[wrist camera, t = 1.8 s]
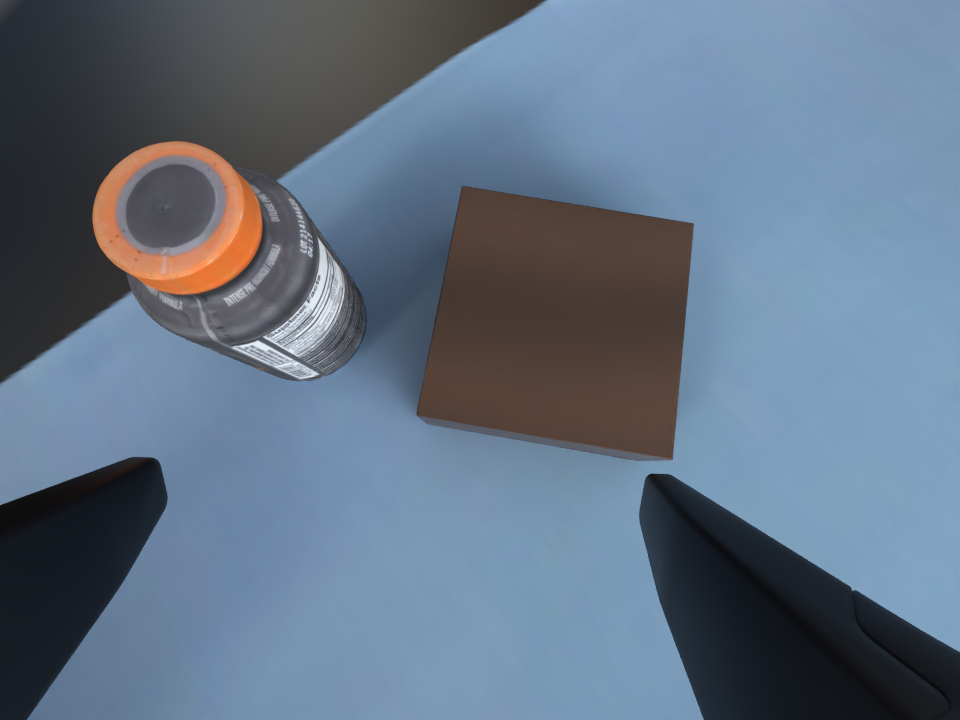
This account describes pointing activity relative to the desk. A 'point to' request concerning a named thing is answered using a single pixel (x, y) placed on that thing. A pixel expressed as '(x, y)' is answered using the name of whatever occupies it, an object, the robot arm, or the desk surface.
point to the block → (560, 326)
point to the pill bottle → (229, 261)
